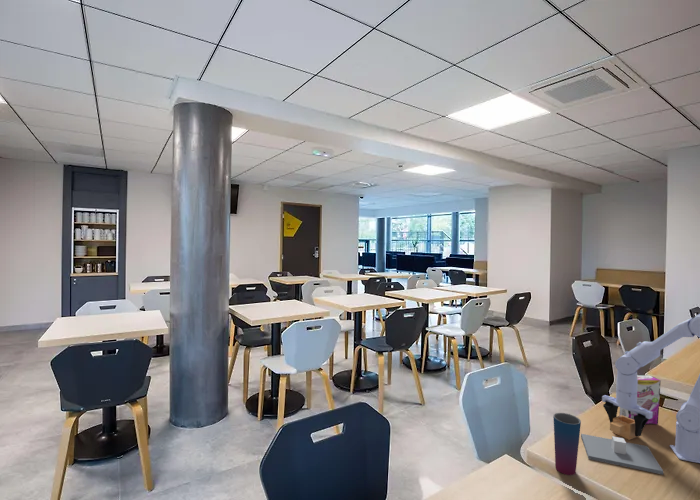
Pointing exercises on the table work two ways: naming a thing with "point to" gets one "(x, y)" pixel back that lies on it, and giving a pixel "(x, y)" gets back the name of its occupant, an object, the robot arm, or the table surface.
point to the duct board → (620, 453)
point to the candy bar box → (646, 397)
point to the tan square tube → (623, 427)
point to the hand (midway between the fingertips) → (625, 430)
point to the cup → (566, 442)
